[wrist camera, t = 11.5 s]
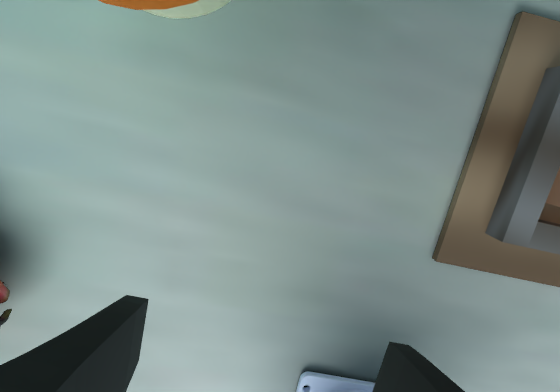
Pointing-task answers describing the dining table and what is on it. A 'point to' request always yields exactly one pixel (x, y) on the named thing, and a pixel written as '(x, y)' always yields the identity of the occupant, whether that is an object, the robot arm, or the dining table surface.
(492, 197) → the socket board
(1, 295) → the dragon fruit
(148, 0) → the reusable coffee cup
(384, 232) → the dining table surface
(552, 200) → the beige upright block
